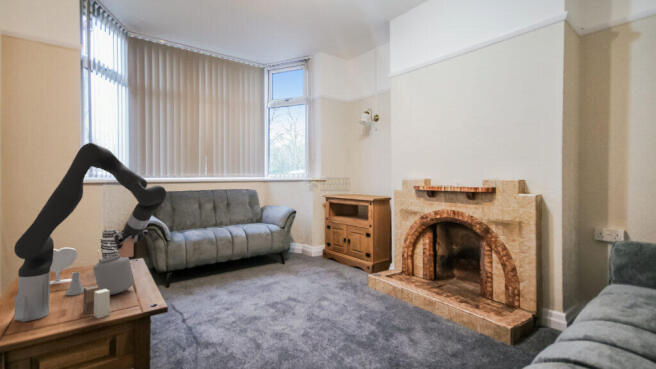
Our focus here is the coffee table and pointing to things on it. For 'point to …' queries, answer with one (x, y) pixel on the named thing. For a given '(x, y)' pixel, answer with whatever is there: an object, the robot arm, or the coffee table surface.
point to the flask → (75, 285)
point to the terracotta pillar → (127, 248)
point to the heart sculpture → (62, 262)
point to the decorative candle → (108, 242)
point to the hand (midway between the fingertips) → (124, 246)
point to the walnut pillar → (89, 299)
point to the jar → (113, 273)
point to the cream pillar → (101, 303)
